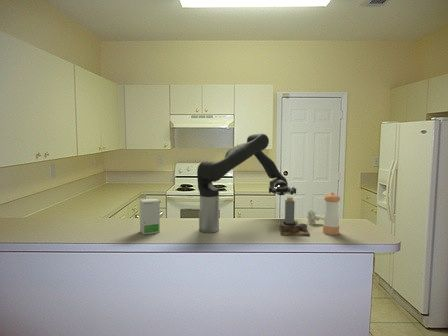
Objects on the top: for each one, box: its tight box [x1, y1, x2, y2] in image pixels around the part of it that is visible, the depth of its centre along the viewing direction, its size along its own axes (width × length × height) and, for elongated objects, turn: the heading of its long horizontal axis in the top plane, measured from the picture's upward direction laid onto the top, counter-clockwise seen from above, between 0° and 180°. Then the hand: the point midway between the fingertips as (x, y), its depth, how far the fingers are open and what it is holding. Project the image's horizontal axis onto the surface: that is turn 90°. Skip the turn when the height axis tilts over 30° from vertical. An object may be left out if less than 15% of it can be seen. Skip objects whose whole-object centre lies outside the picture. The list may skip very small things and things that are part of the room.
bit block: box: [278, 220, 311, 237], centre depth 152 cm, size 13×12×4 cm
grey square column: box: [284, 196, 296, 225], centre depth 151 cm, size 4×4×16 cm
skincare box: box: [139, 198, 161, 236], centre depth 151 cm, size 8×7×16 cm
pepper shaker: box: [322, 192, 341, 236], centre depth 150 cm, size 7×7×19 cm
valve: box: [307, 210, 325, 225], centre depth 164 cm, size 7×7×12 cm
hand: (283, 192), depth 162 cm, fingers open, 8 cm apart
